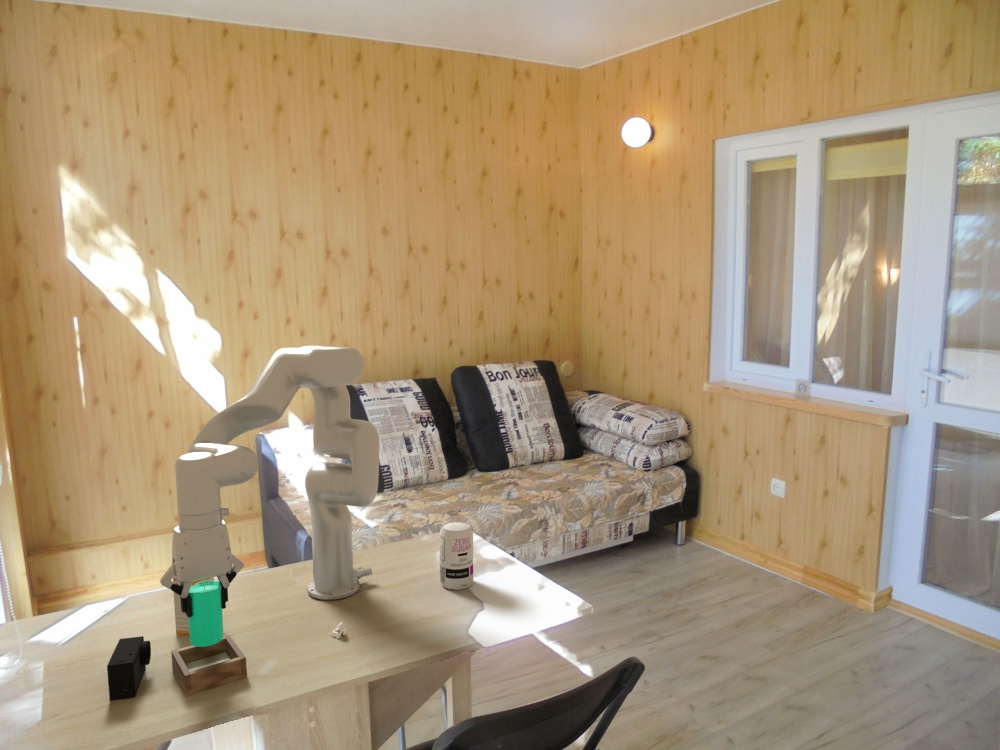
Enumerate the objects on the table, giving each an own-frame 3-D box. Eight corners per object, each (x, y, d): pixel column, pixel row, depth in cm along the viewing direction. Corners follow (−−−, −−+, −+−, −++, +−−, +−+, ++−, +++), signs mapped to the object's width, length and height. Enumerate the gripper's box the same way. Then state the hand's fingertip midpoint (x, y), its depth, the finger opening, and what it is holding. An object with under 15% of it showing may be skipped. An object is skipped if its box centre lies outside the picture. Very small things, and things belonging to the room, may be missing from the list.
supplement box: (195, 636, 158) (191, 577, 156) (175, 633, 159) (171, 575, 157) (217, 618, 166) (214, 562, 165) (198, 616, 167) (194, 561, 165)
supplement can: (454, 574, 190) (453, 518, 188) (480, 582, 185) (479, 524, 183) (433, 585, 183) (432, 527, 181) (459, 594, 179) (458, 534, 177)
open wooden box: (230, 653, 151) (229, 634, 150) (247, 677, 142) (246, 657, 142) (172, 670, 145) (171, 651, 144) (186, 696, 136) (185, 675, 135)
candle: (215, 628, 146) (212, 570, 145) (228, 639, 142) (226, 579, 141) (184, 638, 142) (181, 578, 141) (197, 650, 138) (194, 588, 136)
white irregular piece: (340, 641, 157) (340, 627, 156) (329, 639, 158) (329, 625, 157) (347, 634, 160) (347, 620, 159) (336, 632, 161) (336, 619, 160)
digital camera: (142, 697, 136) (139, 661, 135) (109, 701, 134) (106, 665, 133) (152, 668, 146) (150, 634, 145) (122, 672, 144) (119, 638, 143)
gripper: (240, 505, 147) (244, 592, 149) (146, 522, 137) (152, 615, 140) (252, 515, 141) (256, 605, 143) (154, 533, 131) (161, 630, 133)
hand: (205, 609), depth 141 cm, fingers closed on candle, 5 cm apart
